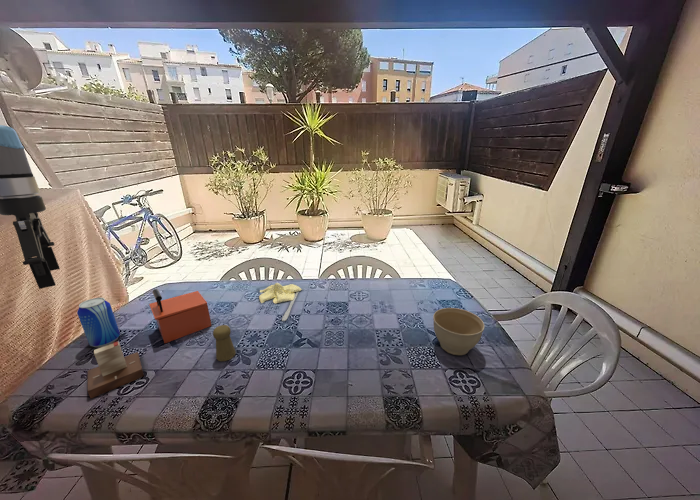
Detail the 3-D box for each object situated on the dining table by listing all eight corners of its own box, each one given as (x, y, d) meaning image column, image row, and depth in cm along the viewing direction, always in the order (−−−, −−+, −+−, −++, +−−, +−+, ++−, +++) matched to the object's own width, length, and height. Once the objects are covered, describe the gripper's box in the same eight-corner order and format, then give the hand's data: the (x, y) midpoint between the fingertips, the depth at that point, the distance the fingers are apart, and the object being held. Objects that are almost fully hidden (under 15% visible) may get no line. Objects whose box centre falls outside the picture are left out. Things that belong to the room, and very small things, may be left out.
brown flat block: (90, 399, 74) (87, 390, 73) (90, 378, 81) (87, 370, 80) (144, 376, 82) (141, 368, 81) (140, 359, 89) (137, 351, 88)
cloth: (304, 286, 137) (303, 275, 135) (293, 305, 120) (292, 292, 118) (262, 284, 140) (261, 273, 138) (245, 302, 122) (243, 290, 120)
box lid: (155, 320, 92) (150, 301, 89) (149, 305, 100) (145, 288, 98) (207, 304, 102) (204, 287, 100) (198, 292, 111) (195, 276, 109)
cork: (239, 352, 92) (235, 325, 88) (225, 364, 87) (220, 335, 83) (227, 347, 94) (222, 320, 90) (212, 358, 89) (206, 330, 85)
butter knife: (278, 320, 109) (286, 320, 108) (295, 289, 134) (301, 289, 134) (279, 321, 109) (286, 321, 109) (295, 290, 134) (301, 290, 134)
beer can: (84, 345, 95) (69, 305, 89) (112, 331, 102) (99, 294, 97) (99, 352, 92) (83, 311, 86) (126, 337, 99) (113, 298, 94)
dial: (102, 376, 78) (93, 353, 75) (102, 372, 79) (93, 349, 77) (126, 367, 81) (119, 344, 78) (126, 363, 83) (118, 340, 80)
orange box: (164, 344, 96) (158, 320, 92) (158, 328, 104) (152, 306, 101) (211, 326, 106) (207, 304, 102) (202, 313, 114) (198, 292, 111)
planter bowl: (480, 340, 98) (485, 314, 95) (477, 369, 85) (482, 340, 81) (435, 327, 105) (438, 303, 102) (425, 352, 92) (428, 325, 88)
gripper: (4, 192, 70) (35, 267, 77) (-24, 205, 53) (20, 300, 60) (46, 189, 75) (72, 261, 82) (33, 201, 58) (67, 290, 65)
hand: (50, 277), depth 71 cm, fingers open, 13 cm apart
